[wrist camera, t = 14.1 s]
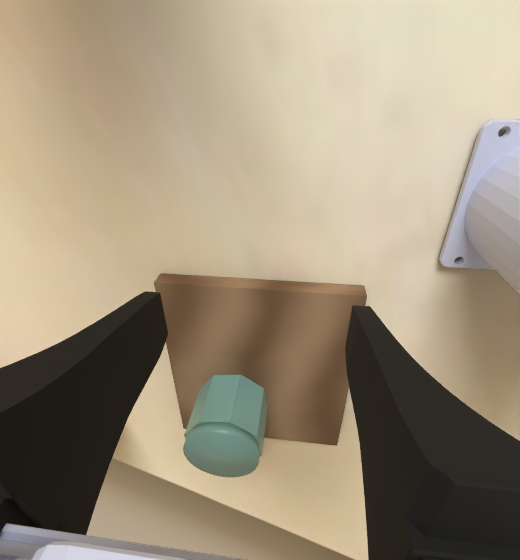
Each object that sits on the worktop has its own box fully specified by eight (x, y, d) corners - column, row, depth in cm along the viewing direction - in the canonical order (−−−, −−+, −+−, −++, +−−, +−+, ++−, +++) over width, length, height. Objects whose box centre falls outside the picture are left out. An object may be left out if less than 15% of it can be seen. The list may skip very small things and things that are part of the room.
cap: (195, 375, 27) (173, 431, 23) (260, 374, 26) (251, 432, 22) (210, 418, 29) (194, 475, 25) (270, 418, 28) (264, 478, 24)
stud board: (364, 285, 22) (374, 326, 18) (336, 433, 30) (339, 480, 27) (160, 273, 23) (134, 309, 20) (187, 417, 32) (172, 460, 28)
